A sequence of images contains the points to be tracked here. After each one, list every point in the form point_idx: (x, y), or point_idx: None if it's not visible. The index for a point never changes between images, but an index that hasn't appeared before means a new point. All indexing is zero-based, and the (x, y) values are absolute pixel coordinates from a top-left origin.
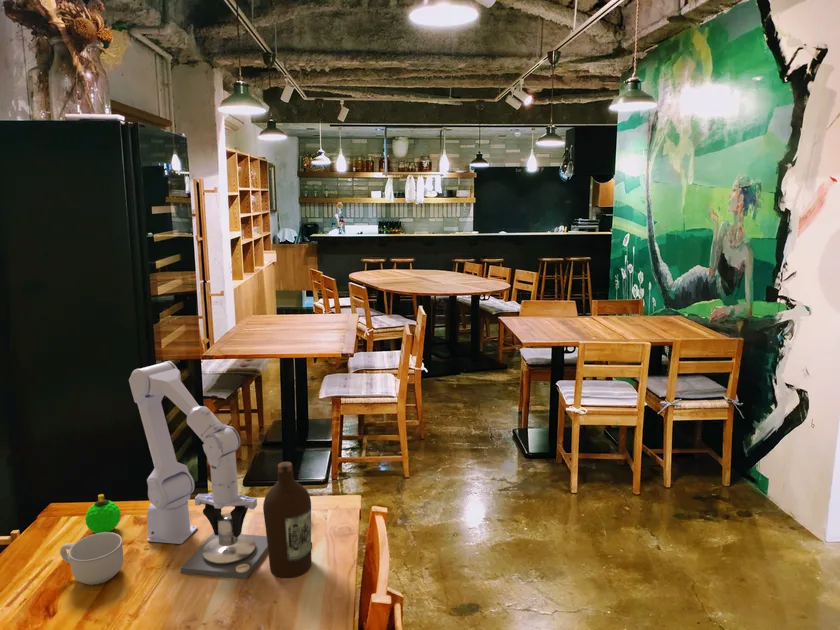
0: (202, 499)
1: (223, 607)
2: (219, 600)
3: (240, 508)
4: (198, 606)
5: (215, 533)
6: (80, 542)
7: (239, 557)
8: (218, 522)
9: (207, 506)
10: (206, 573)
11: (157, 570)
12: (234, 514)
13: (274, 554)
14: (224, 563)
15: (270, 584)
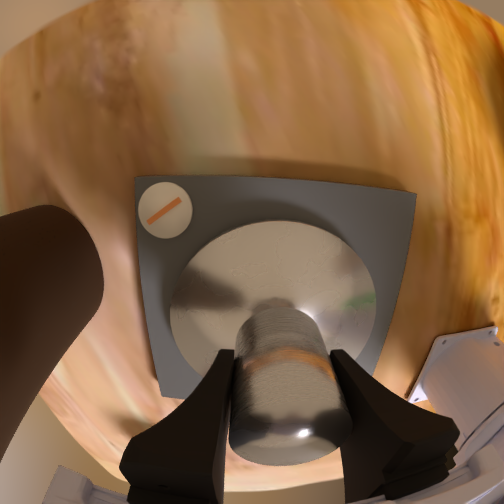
0: (478, 494)
1: (164, 21)
2: (191, 44)
3: (157, 496)
4: (252, 10)
5: (343, 354)
6: None
7: (195, 262)
8: (334, 399)
9: (432, 469)
10: (313, 180)
11: (466, 203)
12: (171, 456)
13: (9, 225)
14: (251, 222)
15: (64, 164)
